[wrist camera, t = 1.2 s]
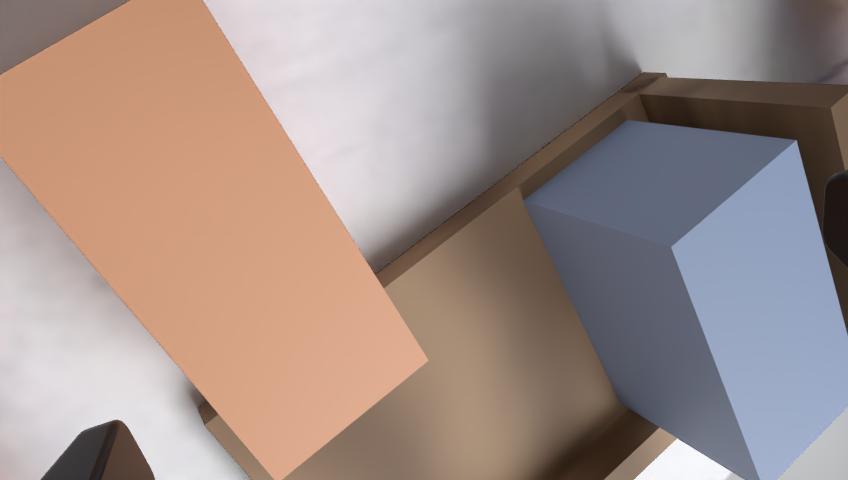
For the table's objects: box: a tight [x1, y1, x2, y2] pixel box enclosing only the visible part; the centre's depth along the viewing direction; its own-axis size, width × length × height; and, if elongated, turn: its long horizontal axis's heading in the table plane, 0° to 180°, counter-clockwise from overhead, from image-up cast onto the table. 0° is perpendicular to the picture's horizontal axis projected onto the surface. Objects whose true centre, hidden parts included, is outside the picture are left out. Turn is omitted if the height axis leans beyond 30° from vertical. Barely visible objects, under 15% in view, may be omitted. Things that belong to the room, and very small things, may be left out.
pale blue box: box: [523, 120, 848, 480], centre depth 22 cm, size 4×9×6 cm, turn 29°
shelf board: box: [198, 72, 848, 480], centre depth 21 cm, size 18×11×8 cm, turn 119°
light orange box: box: [0, 0, 429, 480], centre depth 16 cm, size 4×9×6 cm, turn 29°
